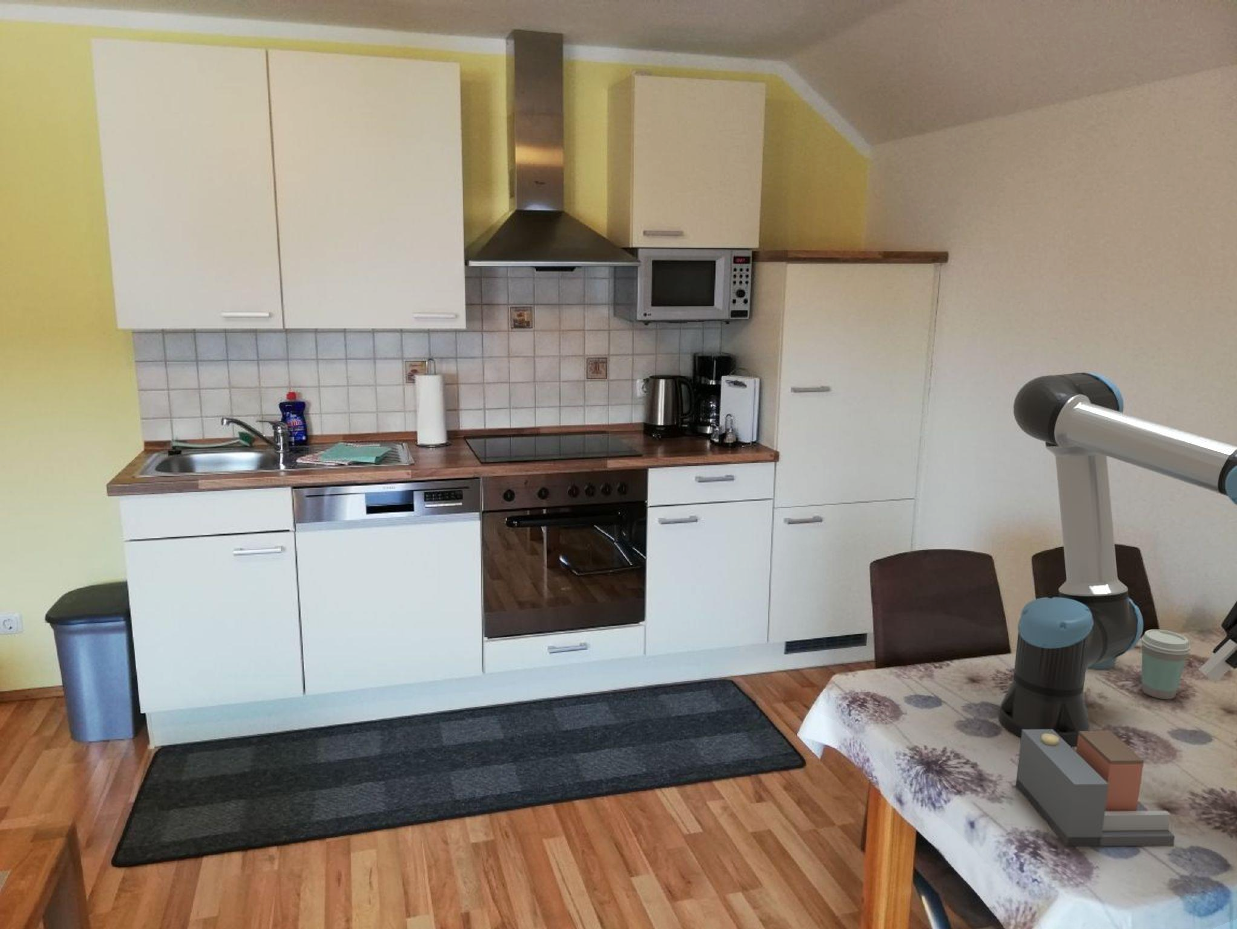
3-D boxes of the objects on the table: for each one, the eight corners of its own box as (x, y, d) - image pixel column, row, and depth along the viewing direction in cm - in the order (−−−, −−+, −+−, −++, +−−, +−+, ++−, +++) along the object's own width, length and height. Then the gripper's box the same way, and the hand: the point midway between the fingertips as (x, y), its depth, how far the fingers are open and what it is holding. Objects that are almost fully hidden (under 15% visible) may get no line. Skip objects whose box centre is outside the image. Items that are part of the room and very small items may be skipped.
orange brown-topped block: (1102, 819, 136) (1110, 760, 134) (1071, 786, 144) (1078, 731, 142) (1135, 818, 136) (1143, 760, 134) (1102, 786, 145) (1110, 730, 143)
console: (1066, 846, 132) (1075, 779, 130) (1015, 785, 148) (1022, 724, 146) (1173, 845, 133) (1184, 778, 131) (1111, 784, 149) (1119, 724, 147)
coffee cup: (1192, 703, 178) (1201, 645, 175) (1148, 702, 178) (1156, 644, 176) (1167, 683, 186) (1175, 628, 184) (1125, 682, 186) (1133, 627, 184)
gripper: (1377, 597, 130) (1253, 713, 136) (1301, 554, 142) (1190, 662, 147) (1351, 572, 128) (1225, 691, 133) (1276, 530, 140) (1163, 641, 145)
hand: (1206, 676), depth 140 cm, fingers closed
